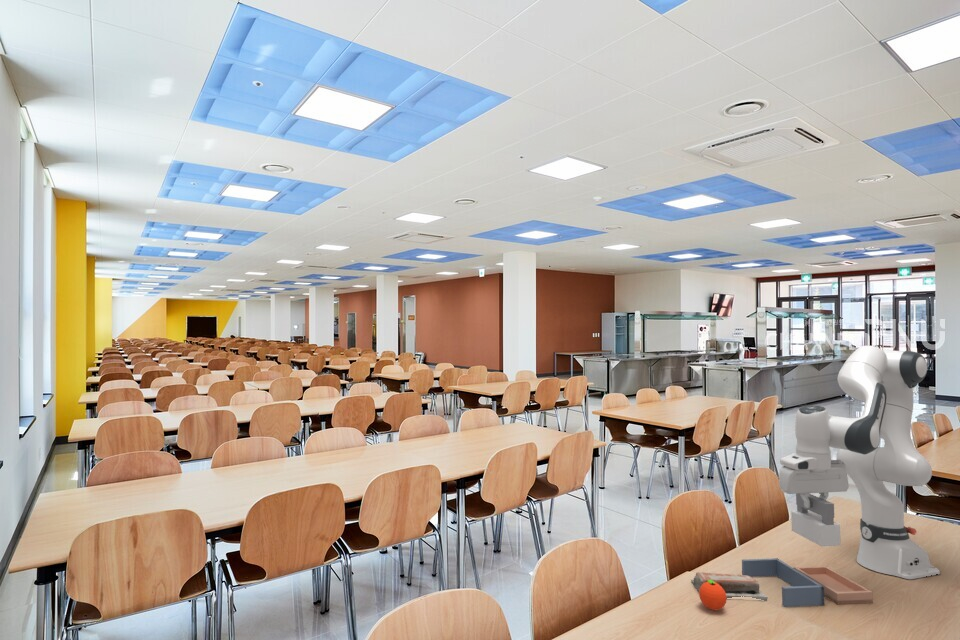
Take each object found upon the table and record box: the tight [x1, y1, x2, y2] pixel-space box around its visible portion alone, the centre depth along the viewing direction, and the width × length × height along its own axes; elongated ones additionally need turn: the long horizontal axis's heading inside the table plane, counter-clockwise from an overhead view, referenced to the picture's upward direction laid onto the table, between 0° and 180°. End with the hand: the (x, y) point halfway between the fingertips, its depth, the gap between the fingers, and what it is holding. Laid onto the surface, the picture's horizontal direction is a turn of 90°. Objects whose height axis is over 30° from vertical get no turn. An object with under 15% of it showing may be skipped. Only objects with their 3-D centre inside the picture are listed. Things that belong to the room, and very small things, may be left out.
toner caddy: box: [790, 493, 842, 548], centre depth 154 cm, size 6×12×12 cm, turn 6°
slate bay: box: [741, 558, 825, 608], centre depth 152 cm, size 12×19×5 cm, turn 6°
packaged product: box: [690, 571, 768, 602], centre depth 150 cm, size 18×5×10 cm
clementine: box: [698, 580, 728, 611], centre depth 141 cm, size 8×7×7 cm
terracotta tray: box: [793, 565, 874, 606], centre depth 153 cm, size 11×17×3 cm, turn 6°
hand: (814, 507), depth 154 cm, fingers closed on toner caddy, 2 cm apart
